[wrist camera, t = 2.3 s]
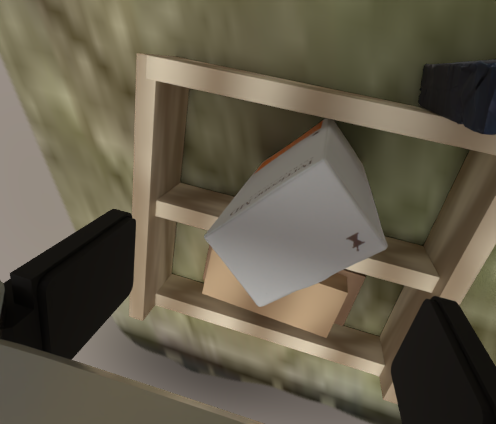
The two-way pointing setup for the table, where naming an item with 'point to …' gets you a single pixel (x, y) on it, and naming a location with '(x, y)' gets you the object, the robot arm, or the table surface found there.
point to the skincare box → (299, 217)
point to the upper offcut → (282, 299)
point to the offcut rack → (213, 203)
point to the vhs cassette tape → (462, 93)
